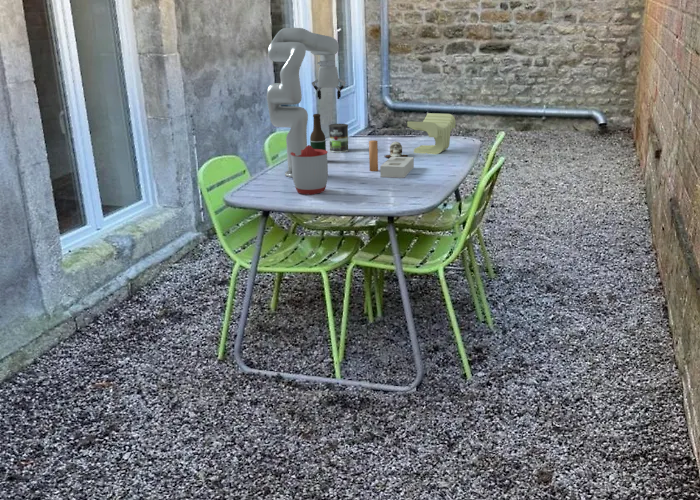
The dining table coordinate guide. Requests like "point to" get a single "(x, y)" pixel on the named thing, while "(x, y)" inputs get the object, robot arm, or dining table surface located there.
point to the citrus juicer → (310, 170)
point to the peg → (373, 155)
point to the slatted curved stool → (435, 131)
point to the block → (397, 167)
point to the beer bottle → (317, 135)
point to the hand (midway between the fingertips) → (329, 98)
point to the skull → (396, 150)
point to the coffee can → (338, 137)
